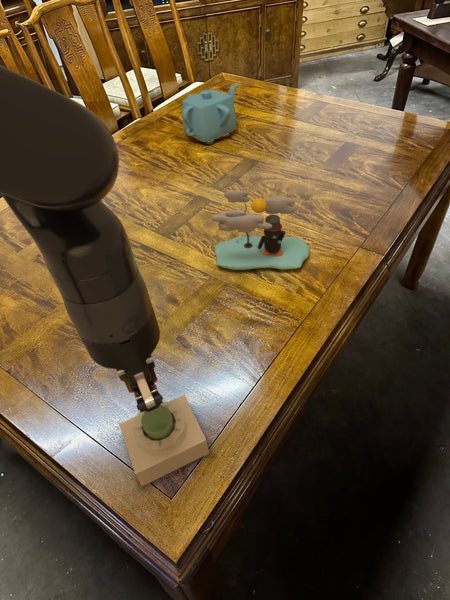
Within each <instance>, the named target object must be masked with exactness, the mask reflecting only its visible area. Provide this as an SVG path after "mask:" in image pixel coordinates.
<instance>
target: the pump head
mask: <svg viewBox="0 0 450 600" xmlns="http://www.w3.org/2000/svg"><path fill="white" fill-rule="evenodd" d="M141 424H142V427H143V429H144V431H145V433H146V435H147V436H148V437H149V438H151V439H154V440H160V439H163V438H165V437H167V436H168V435H169V434H170V433H171V432H172V430H173V427H174V421H173V418H172V415H171V412H170V410H169V409H168V408H167V407H165V406H162V405H160V406H159V408H156V409H154V410H152V411H150V412H144V414H143V416H142V419H141Z"/></svg>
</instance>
